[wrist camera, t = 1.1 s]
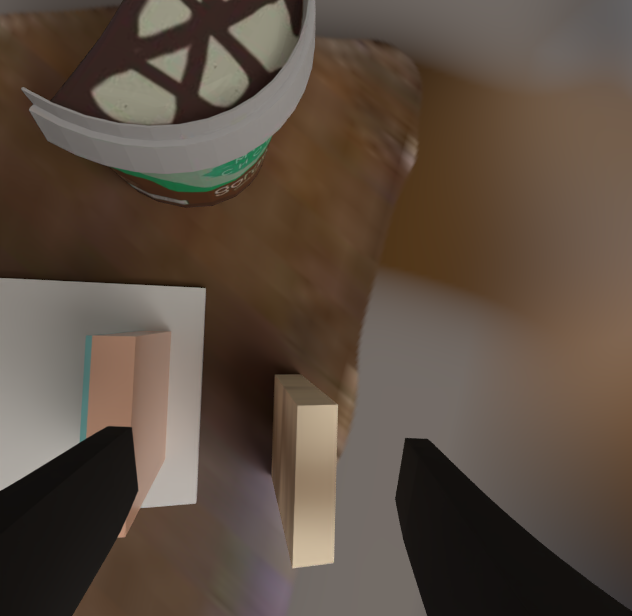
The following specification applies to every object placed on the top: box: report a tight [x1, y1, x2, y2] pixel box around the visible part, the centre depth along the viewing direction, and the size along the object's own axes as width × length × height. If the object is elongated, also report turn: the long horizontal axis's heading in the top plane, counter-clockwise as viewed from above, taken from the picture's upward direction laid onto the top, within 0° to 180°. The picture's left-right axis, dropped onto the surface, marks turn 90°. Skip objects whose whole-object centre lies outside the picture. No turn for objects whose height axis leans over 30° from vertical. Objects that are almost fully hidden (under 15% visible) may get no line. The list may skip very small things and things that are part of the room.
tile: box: [79, 331, 171, 538], centre depth 16 cm, size 7×2×7 cm, turn 178°
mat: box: [0, 278, 206, 508], centre depth 18 cm, size 12×12×1 cm
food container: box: [21, 0, 315, 208], centre depth 16 cm, size 12×6×10 cm, turn 150°
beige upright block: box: [271, 374, 338, 568], centre depth 17 cm, size 6×2×8 cm, turn 178°
